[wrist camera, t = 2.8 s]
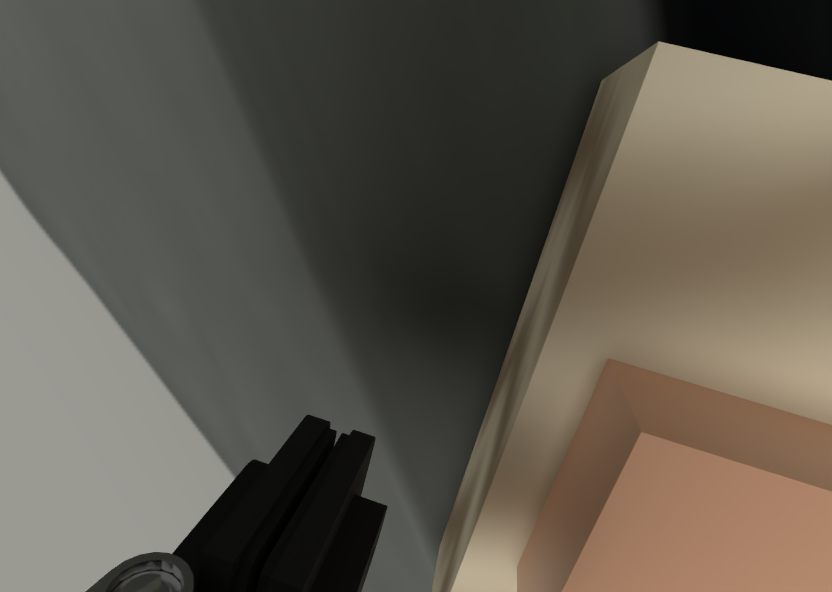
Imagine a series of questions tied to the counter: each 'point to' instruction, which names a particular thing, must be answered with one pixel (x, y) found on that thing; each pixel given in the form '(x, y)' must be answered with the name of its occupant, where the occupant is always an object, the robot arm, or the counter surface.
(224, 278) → the counter surface
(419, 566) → the counter surface
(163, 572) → the robot arm
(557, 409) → the birch board
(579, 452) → the terracotta tile
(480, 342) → the counter surface
